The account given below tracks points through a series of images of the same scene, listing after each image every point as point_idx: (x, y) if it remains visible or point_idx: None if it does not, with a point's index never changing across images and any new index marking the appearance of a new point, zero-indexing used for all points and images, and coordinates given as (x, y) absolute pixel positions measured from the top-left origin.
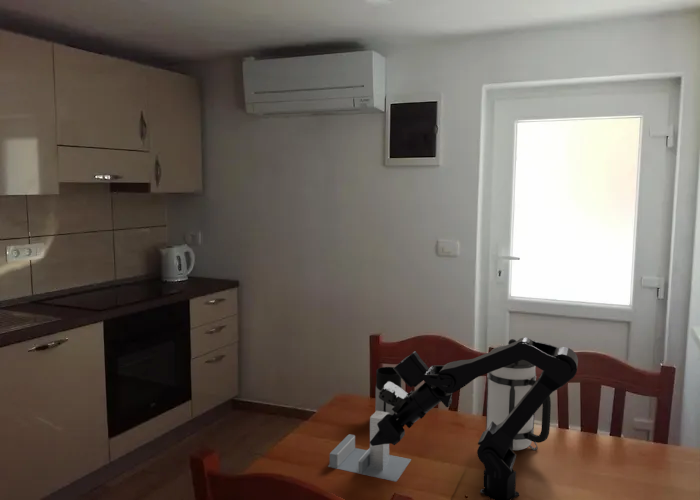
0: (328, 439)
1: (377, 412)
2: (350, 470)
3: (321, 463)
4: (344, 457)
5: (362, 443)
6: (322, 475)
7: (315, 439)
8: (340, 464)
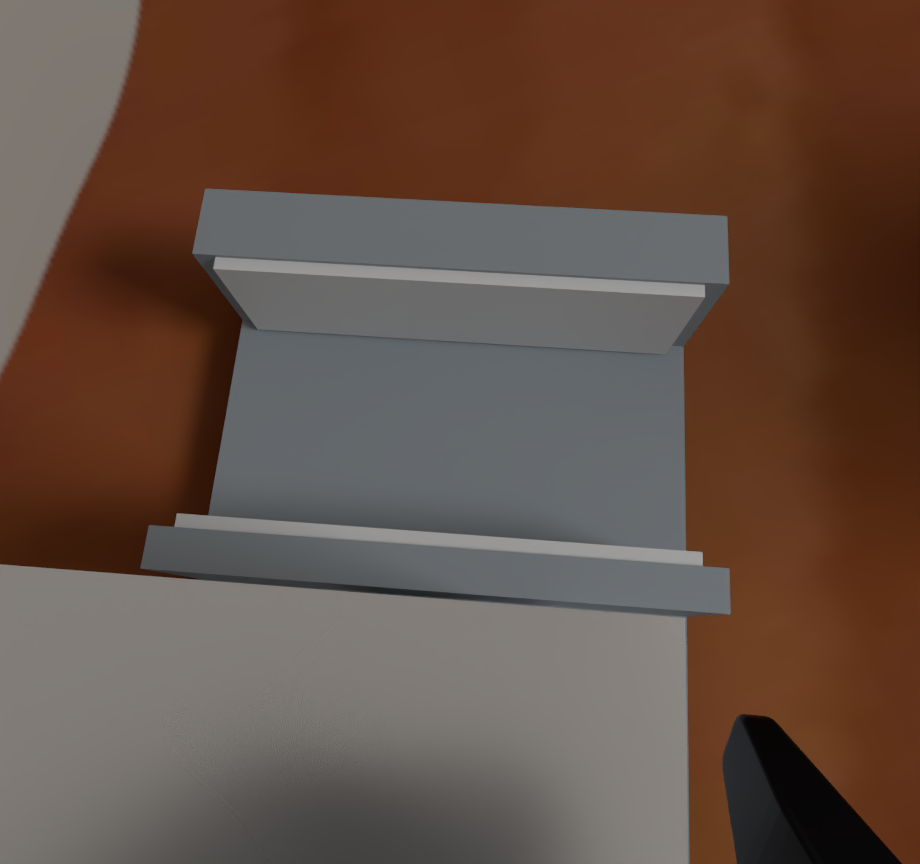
0: (787, 89)
1: (500, 719)
2: (234, 453)
3: (362, 184)
4: (405, 328)
5: (862, 376)
6: (176, 258)
7: (737, 4)
8: (320, 333)
